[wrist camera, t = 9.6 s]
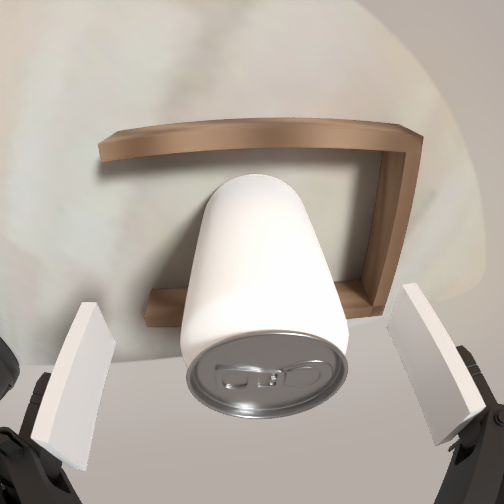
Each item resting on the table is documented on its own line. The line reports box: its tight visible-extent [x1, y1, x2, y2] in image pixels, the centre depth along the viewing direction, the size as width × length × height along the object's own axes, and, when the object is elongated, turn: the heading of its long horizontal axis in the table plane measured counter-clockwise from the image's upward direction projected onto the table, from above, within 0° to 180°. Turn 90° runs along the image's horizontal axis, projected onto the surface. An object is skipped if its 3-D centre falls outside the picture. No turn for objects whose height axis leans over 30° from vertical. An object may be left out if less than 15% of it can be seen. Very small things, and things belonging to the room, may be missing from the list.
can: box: [180, 174, 349, 419], centre depth 15 cm, size 6×6×12 cm
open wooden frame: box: [98, 118, 423, 327], centre depth 19 cm, size 17×13×3 cm
